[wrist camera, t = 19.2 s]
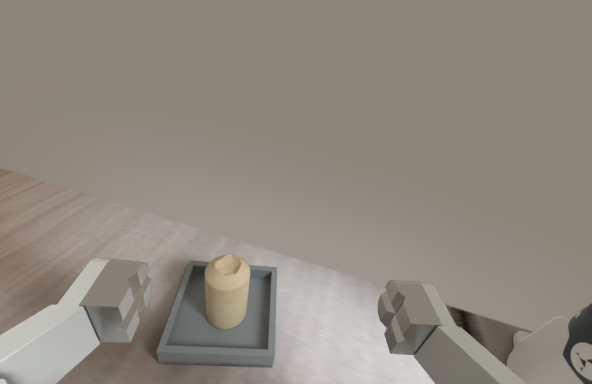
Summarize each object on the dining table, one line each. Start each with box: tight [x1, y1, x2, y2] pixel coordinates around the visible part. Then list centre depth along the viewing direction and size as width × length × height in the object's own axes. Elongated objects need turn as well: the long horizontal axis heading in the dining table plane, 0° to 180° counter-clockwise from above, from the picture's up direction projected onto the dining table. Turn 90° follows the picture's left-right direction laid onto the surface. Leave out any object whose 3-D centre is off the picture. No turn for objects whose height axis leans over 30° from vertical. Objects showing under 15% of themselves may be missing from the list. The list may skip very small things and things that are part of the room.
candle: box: [205, 254, 250, 329], centre depth 37 cm, size 6×6×10 cm
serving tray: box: [156, 261, 277, 368], centre depth 39 cm, size 14×14×3 cm
